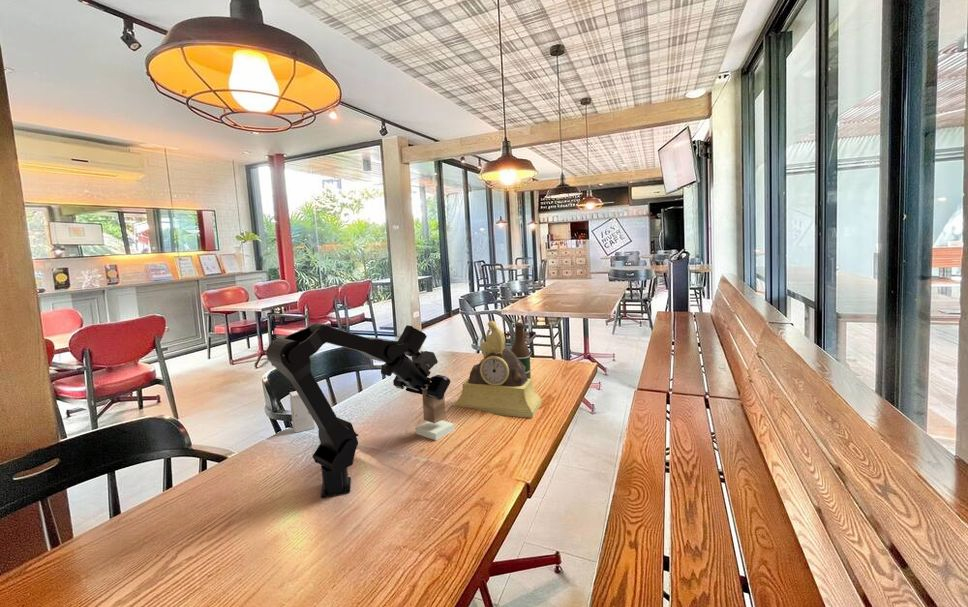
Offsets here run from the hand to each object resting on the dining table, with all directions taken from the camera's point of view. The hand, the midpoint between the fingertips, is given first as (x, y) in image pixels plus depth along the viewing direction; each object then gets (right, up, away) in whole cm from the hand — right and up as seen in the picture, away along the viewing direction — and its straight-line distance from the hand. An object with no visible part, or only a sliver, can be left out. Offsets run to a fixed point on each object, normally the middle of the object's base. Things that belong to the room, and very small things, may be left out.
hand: (436, 396), depth 126 cm
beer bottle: (+29, -4, +47) cm, 55 cm away
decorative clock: (+19, -9, +22) cm, 30 cm away
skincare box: (-44, -13, +10) cm, 47 cm away
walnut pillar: (-1, -7, 0) cm, 7 cm away
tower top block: (0, -11, 0) cm, 11 cm away
